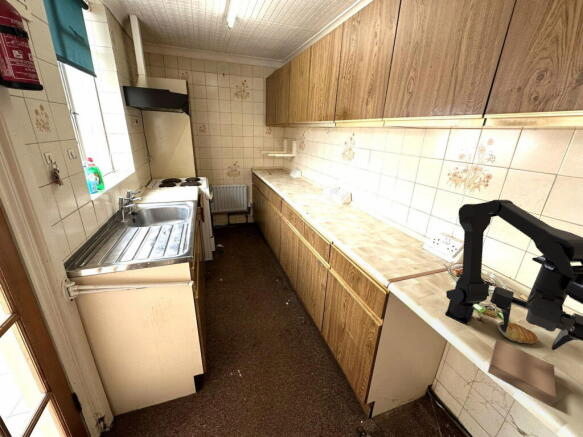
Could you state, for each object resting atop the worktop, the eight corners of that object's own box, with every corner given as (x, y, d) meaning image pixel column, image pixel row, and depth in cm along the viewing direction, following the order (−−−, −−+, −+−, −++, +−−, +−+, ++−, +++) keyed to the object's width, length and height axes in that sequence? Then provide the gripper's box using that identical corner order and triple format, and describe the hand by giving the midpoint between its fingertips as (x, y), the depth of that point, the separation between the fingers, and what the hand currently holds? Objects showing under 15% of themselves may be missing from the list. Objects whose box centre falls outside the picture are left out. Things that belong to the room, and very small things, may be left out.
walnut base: (487, 372, 65) (491, 363, 64) (493, 346, 73) (496, 339, 72) (550, 406, 57) (555, 397, 56) (549, 373, 66) (554, 365, 65)
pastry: (527, 332, 79) (532, 323, 78) (542, 348, 73) (547, 338, 72) (494, 325, 81) (498, 316, 80) (505, 340, 75) (509, 330, 74)
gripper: (497, 282, 58) (478, 334, 64) (621, 325, 46) (585, 384, 51) (502, 266, 66) (485, 314, 71) (610, 299, 54) (580, 353, 59)
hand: (527, 338), depth 63 cm, fingers open, 9 cm apart
